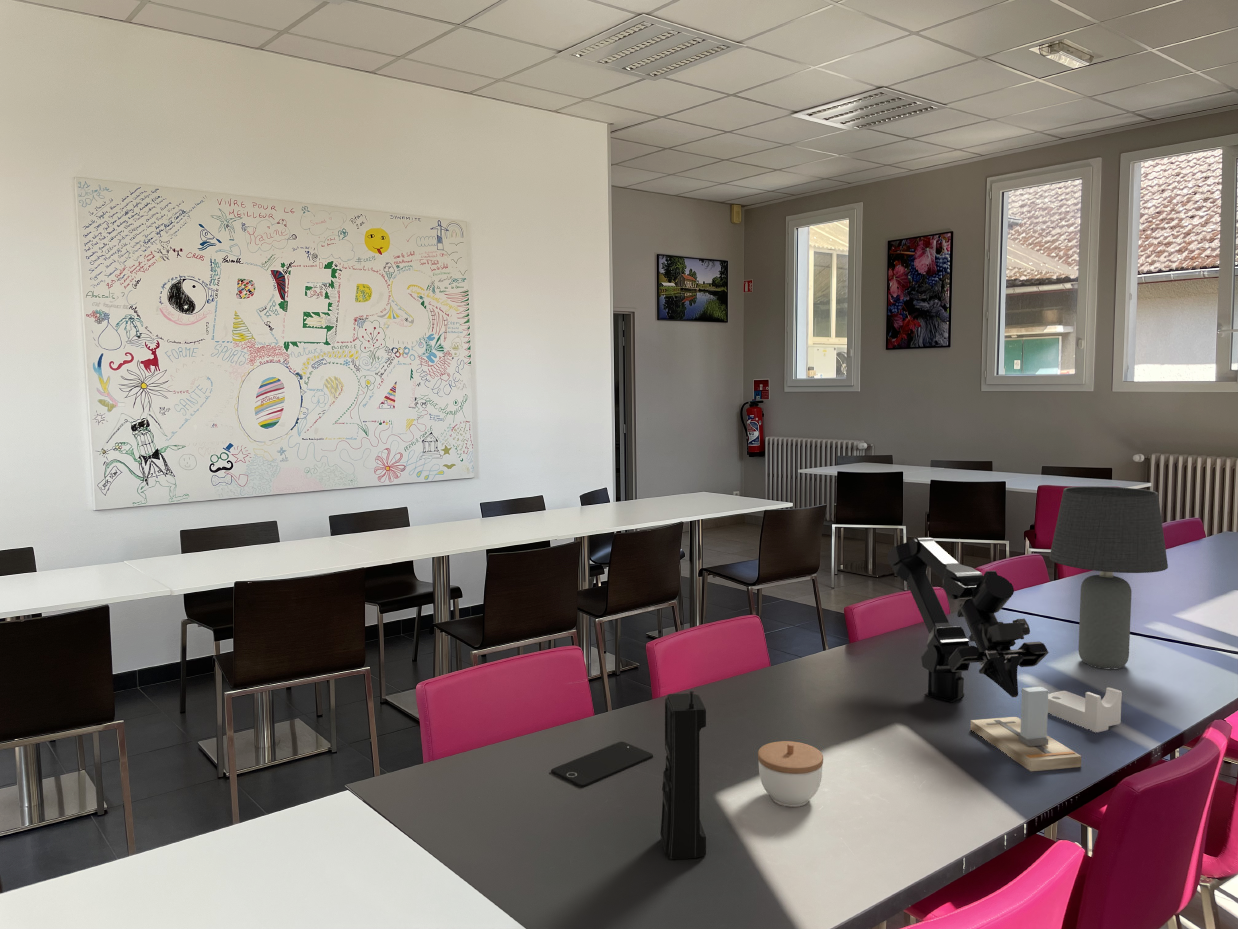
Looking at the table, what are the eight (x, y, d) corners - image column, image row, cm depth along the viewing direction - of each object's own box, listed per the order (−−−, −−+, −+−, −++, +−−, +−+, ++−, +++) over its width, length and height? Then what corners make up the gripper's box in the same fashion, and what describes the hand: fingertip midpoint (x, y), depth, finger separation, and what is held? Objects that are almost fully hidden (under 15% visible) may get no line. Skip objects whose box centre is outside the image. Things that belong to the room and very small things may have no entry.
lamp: (1182, 667, 208) (1190, 491, 205) (1131, 689, 194) (1139, 500, 191) (1078, 643, 229) (1084, 483, 225) (1025, 660, 215) (1031, 490, 211)
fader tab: (1018, 740, 162) (1020, 687, 161) (1037, 738, 162) (1039, 685, 161) (1028, 746, 159) (1030, 692, 158) (1048, 744, 159) (1050, 691, 158)
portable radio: (658, 833, 133) (657, 676, 131) (697, 831, 134) (696, 675, 132) (665, 861, 126) (664, 694, 123) (706, 858, 126) (706, 693, 124)
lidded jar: (754, 783, 150) (754, 731, 149) (816, 783, 150) (816, 731, 149) (762, 814, 139) (762, 758, 138) (829, 814, 139) (829, 758, 138)
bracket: (1120, 728, 173) (1121, 691, 172) (1096, 734, 170) (1097, 697, 170) (1063, 706, 185) (1064, 672, 184) (1040, 711, 182) (1041, 677, 181)
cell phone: (549, 774, 155) (549, 769, 155) (621, 745, 168) (621, 740, 167) (582, 790, 149) (582, 785, 149) (654, 759, 161) (654, 754, 161)
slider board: (970, 730, 172) (970, 719, 172) (1016, 726, 174) (1016, 716, 174) (1030, 771, 153) (1031, 760, 153) (1081, 766, 155) (1081, 755, 155)
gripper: (957, 606, 168) (989, 680, 158) (1043, 602, 171) (1080, 673, 161) (935, 635, 176) (964, 706, 166) (1018, 630, 179) (1051, 700, 169)
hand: (1015, 696), depth 165 cm, fingers closed
